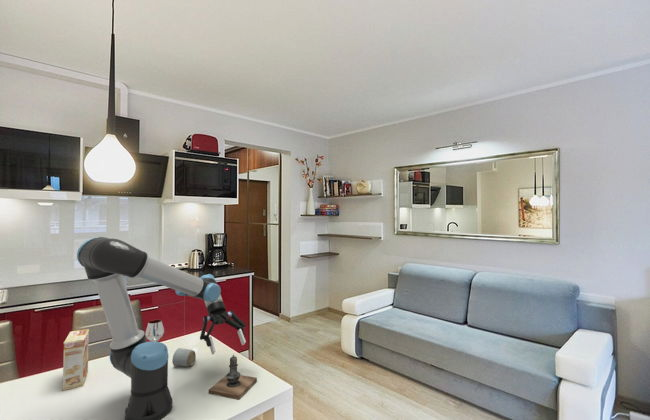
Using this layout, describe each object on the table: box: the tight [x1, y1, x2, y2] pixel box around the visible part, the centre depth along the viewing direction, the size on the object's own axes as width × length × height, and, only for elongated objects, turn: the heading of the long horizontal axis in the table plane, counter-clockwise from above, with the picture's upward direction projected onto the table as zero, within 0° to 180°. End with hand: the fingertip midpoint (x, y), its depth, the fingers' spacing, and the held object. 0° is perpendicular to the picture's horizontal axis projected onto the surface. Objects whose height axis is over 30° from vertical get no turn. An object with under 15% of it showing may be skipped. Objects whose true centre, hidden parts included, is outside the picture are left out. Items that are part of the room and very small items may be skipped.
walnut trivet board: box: [207, 374, 258, 400], centre depth 130 cm, size 14×14×2 cm
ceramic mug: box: [171, 347, 197, 368], centre depth 150 cm, size 11×8×8 cm
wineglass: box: [145, 319, 165, 342], centre depth 156 cm, size 8×8×18 cm
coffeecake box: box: [62, 328, 90, 392], centre depth 135 cm, size 15×7×20 cm, turn 31°
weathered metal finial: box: [225, 354, 242, 387], centre depth 130 cm, size 6×6×12 cm
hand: (229, 348), depth 132 cm, fingers open, 13 cm apart
